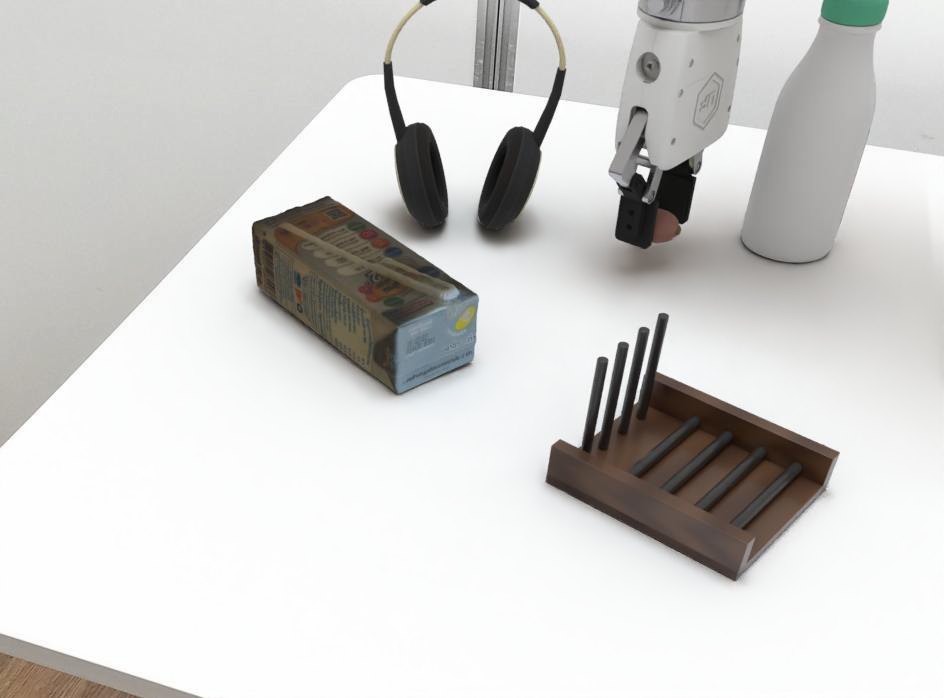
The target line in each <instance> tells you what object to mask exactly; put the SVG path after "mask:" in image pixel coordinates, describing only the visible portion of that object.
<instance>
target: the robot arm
mask: <svg viewBox="0 0 944 698" xmlns="http://www.w3.org/2000/svg"><path fill="white" fill-rule="evenodd" d="M746 2H747V0H637V8H636V15H637V16H638V18H639V20H638V21H637V25H636V28H635V33H634V36H633V39H632V40H633V41H632V43H631V48H630V52H629V56H628V60H627V65H626V69H625V74H624V79H623V84H622V89H621V92H620V93H621V94H620V99H619V105H618V111H617V118H616V124H615V125H616V126H615V136H614V151H615V154H614V157H613V159H612V161H611V162H610V165H609V168H608V171H607V172H608V176H610V178H611V179H612V180H613V181H614V182H615V183H616V185H617V187H618V189H617V194H618V195H619V196H620V198H619V203H618V211H617V217H616V223H615V231H614V238H615V239H616V240H617V241H620V242H622V243H625V244H629V245H631V246H634V247H637V248H639V249H642V250H647V249H648V248H650V247H651V246H652V244H653V243H652V240H653V234H654V228H655V223H656V217H657V211H658V209H663V210H666V211H669V212H670V213H672V214H673V215H674V216H675V217H676V218H677V219H678V222H679V225H684V224H686V223H687V222H688V221H689V218H690V213H691V207H692V204H693V198H694V193H695V189H696V184H697V178H698V177H697V176H696V175H698V174H699V173H700V171H701V169H702V166H703V155H704V154H703V153H704V151H705V150H706V149H707V148H708V147H710V146H711V145H713V144H714V143H716V142H717V141H719V140H720V139H721V138H722V137H723V136H724V135H725V133H726V131H727V129H728V126H729V123H730V122H729V121H730V117H731V111H732V106H733V100H734V96H735V95H734V94H735V89H736V82H737V78H738V77H737V76H738V69H739V63H740V55H741V48H742V37H743V36H742V34H743V21H744V20H743V18H744V17H743V16H744V11H745V6H746ZM642 149H643V150H646V151H647V155H644V154H641V151H642ZM638 166H640V167H644V168H647V169H649V172H648V176H647V179H645V178H644V176H643V175H642V174H641V173H639V172H637V171H638Z"/></svg>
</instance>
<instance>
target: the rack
mask: <svg viewBox="0 0 944 698" xmlns="http://www.w3.org/2000/svg"><path fill="white" fill-rule="evenodd" d="M669 318H670V315H669V314H668V313H666V312H660V313H658V315H657V318H656V322H655V328H654V332H653V335H652V340H651V345H650V350H649V355H648V359H647V364H646V369H645V373H644V374H643V377H642V382H641V387H640V391H639V395H638V399H637V402H636V403H635V401H636V396H637V392H638V386H639V383H640V378H641V374H642V370H643V369H642V368H643V366H644V361H645V360H644V359H645V355H646V352H647V351H646V350H647V346H648V341H649V336H650V332H651V330H650V328H649V327H647V326H640V327H639V328H638V331H637V336H636V340H635V345H634V350H633V355H632V359H631V364H630V368H629V374H628V377H627V378H628V379H627V383H626V389H625V392H624V397H623V403H622V407H621V413H620V415H618V417H616V418H615V416H616V412H617V407H618V403H619V398H620V392H621V388H622V384H623V379H624V374H625V368H626V364H627V358H628V354H629V348H630V344H629V342H627V341H619V342H618V343H617V345H616V346H617V347H616V352H615V357H614V362H613V366H612V367H613V368H612V372H611V377H610V383H609V387H608V393H607V398H606V404H605V408H604V412H603V417H602V423H601V428H600V431H598V432H597V433H596V430H597V424H598V417H599V413H600V408H601V403H602V397H603V392H604V387H605V382H606V376H607V371H608V365H609V361H610V360H609V358H608V357H607V356H598V357H597V359H596V363H595V364H596V365H595V367H594V368H595V370H594V373H593V374H594V376H593V380H592V386H591V390H590V391H591V392H590V396H589V401H588V407H587V413H586V418H585V424H584V429H583V435H582V438H581V439H582V440H581V445H580V446H579V447H578V446H576V445H573V444H571V443H569V442H568V441H565V440H564V439H561V438H560V439H558V440H557V441H555V442H554V443H553V444H551V446H550V452H549V456H548V457H549V458H548V464H547V471H546V477H545V483H547V484H549V485H550V486H554V487H555V488H557V489H559V490H560V491H562V492H565V493H566V494H569V495H570V496H572V497H574V498H576V499H578V500H579V501H582V502H583V503H586V504H587V505H589V506H592V507H594V508H595V509H597V510H599V511H601V512H603V513H605V514H607V515H609V516H611V517H612V518H614V519H616V520H618V521H620V522H622V523H624V524H626V525H628V526H629V527H631V528H633V529H635V530H637V531H639V532H641V533H643V534H645V535H647V536H649V537H650V538H652V539H654V540H656V541H658V542H660V543H662V544H664V545H666V546H668V547H669V548H672V549H673V550H676V551H678V552H679V553H681V554H683V555H685V556H687V557H689V558H691V559H693V560H694V561H696V562H699V563H700V564H702V565H704V566H706V567H708V568H710V569H712V570H714V571H715V572H718V573H720V574H721V575H723V576H725V577H727V578H729V579H731V580H733V581H737V580H738V579H739V578H740V577H741V576H742V575H743V574H744V573H745V572H746V571H747V569H748V568H750V566H751V565H752V564H753V563H755V561H756V560H757V559H759V557H761V555H762V554H763V553H764V552H765V551H766V550H767V549H769V547H770V546H771V545H772V544H773V543H774V542H775V541H776V540H777V539H778V538H779V537H780V536H781V535H782V534H783V533H784V532H785V531H786V530H787V529H788V528H789V527H790V526H791V525H792V524H794V522H795V521H796V520H797V519H798V517H800V516H801V515H802V514H803V513H804V512H805V511H806V509H807V508H809V506H811V504H813V502H815V500H816V499H818V497H819V496H821V494H822V493H824V491H825V490H826V489H827V488H828V485H829V483H830V480H831V477H832V475H833V473H834V470H835V468H836V464H837V462H838V459H839V457H840V455H841V452H840V451H838V450H836V449H834V448H832V447H829V446H827V445H824V444H823V443H820V442H818V441H816V440H814V439H812V438H809V437H807V436H804V435H802V434H800V433H797V432H795V431H794V430H793V431H792V430H790V429H788V428H787V427H784V426H781V425H779V424H777V423H774V422H772V421H770V420H768V419H765V418H763V417H761V416H759V415H756V414H755V413H752V412H750V411H747V410H745V409H743V408H740V407H738V406H736V405H734V404H732V403H729V402H727V401H726V400H722V399H721V398H718V397H716V396H713V395H711V394H708V393H707V392H704V391H702V390H699V389H697V388H695V387H694V386H693V387H692V386H690V385H688V384H687V383H684V382H681V381H679V380H678V379H675V378H672V377H670V376H668V375H666V374H664V373H661V372H659V371H658V368H659V363H660V360H661V359H660V358H661V353H662V350H663V345H664V342H665V338H666V337H665V336H666V333H667V327H668V323H669Z"/></svg>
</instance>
